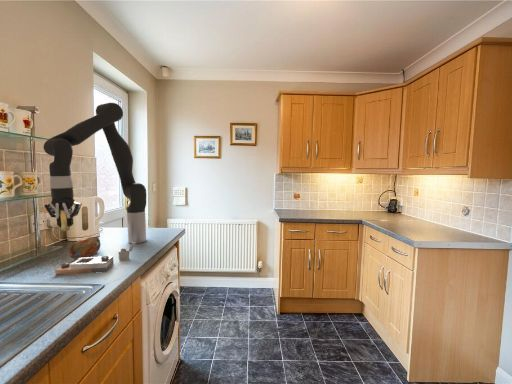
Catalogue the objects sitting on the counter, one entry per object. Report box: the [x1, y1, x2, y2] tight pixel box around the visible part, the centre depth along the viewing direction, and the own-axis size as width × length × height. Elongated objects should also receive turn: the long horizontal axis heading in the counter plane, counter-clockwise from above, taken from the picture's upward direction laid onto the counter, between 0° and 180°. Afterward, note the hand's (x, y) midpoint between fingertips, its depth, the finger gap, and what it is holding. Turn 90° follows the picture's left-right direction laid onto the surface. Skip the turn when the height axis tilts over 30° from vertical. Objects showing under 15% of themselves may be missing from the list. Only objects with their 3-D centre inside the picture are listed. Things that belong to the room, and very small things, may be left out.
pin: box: [60, 210, 71, 232], centre depth 108 cm, size 3×3×9 cm
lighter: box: [118, 242, 137, 261], centre depth 115 cm, size 7×2×8 cm, turn 105°
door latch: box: [54, 255, 115, 275], centre depth 104 cm, size 8×18×5 cm, turn 99°
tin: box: [69, 236, 101, 260], centre depth 119 cm, size 15×3×8 cm, turn 168°
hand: (65, 226), depth 108 cm, fingers closed on pin, 3 cm apart
